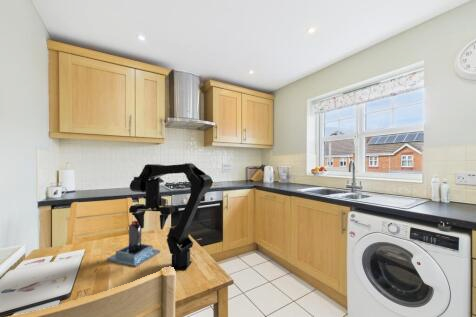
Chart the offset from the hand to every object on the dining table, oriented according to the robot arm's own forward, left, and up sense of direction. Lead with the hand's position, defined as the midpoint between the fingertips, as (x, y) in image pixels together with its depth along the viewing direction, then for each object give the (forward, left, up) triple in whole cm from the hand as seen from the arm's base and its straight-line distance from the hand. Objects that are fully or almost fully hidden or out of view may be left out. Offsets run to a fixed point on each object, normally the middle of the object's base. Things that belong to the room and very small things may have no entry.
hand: (152, 228), depth 90 cm
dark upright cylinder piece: (+9, -1, -12) cm, 15 cm away
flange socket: (+9, -1, -13) cm, 16 cm away
